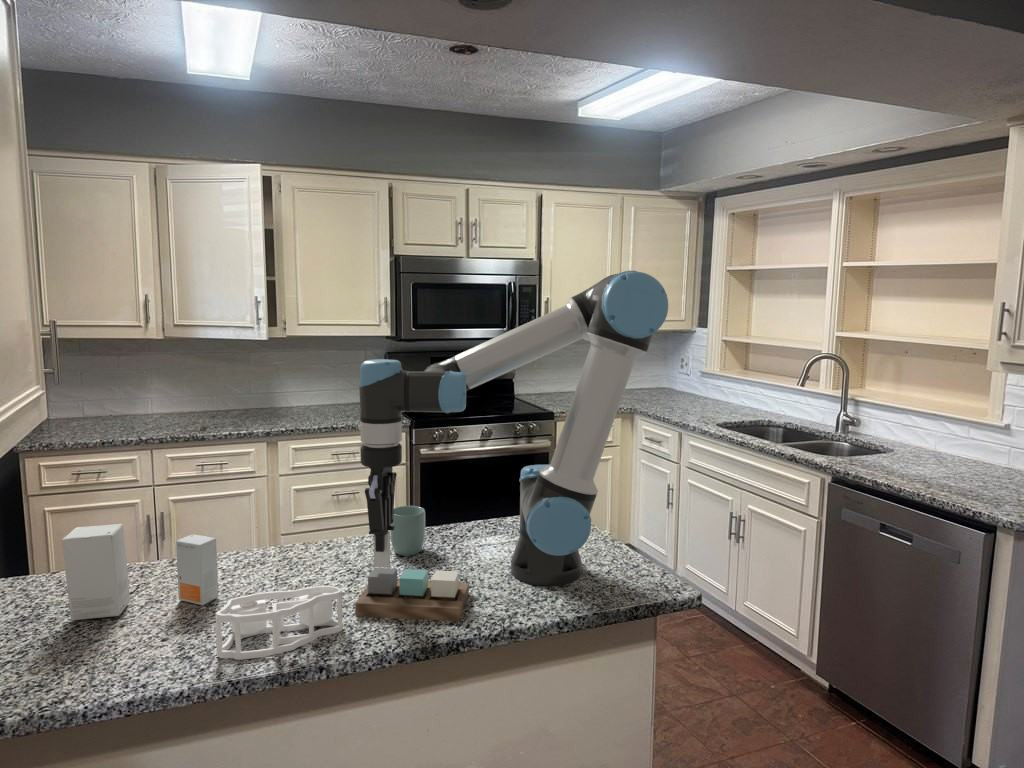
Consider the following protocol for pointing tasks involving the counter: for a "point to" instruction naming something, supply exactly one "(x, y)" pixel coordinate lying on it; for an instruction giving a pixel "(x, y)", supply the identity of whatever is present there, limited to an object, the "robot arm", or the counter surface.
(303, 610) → the car outline toy
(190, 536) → the skincare box
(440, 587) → the key
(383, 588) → the key
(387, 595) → the keypad
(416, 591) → the key
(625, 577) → the counter surface
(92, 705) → the counter surface
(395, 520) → the cup
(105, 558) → the skincare box
